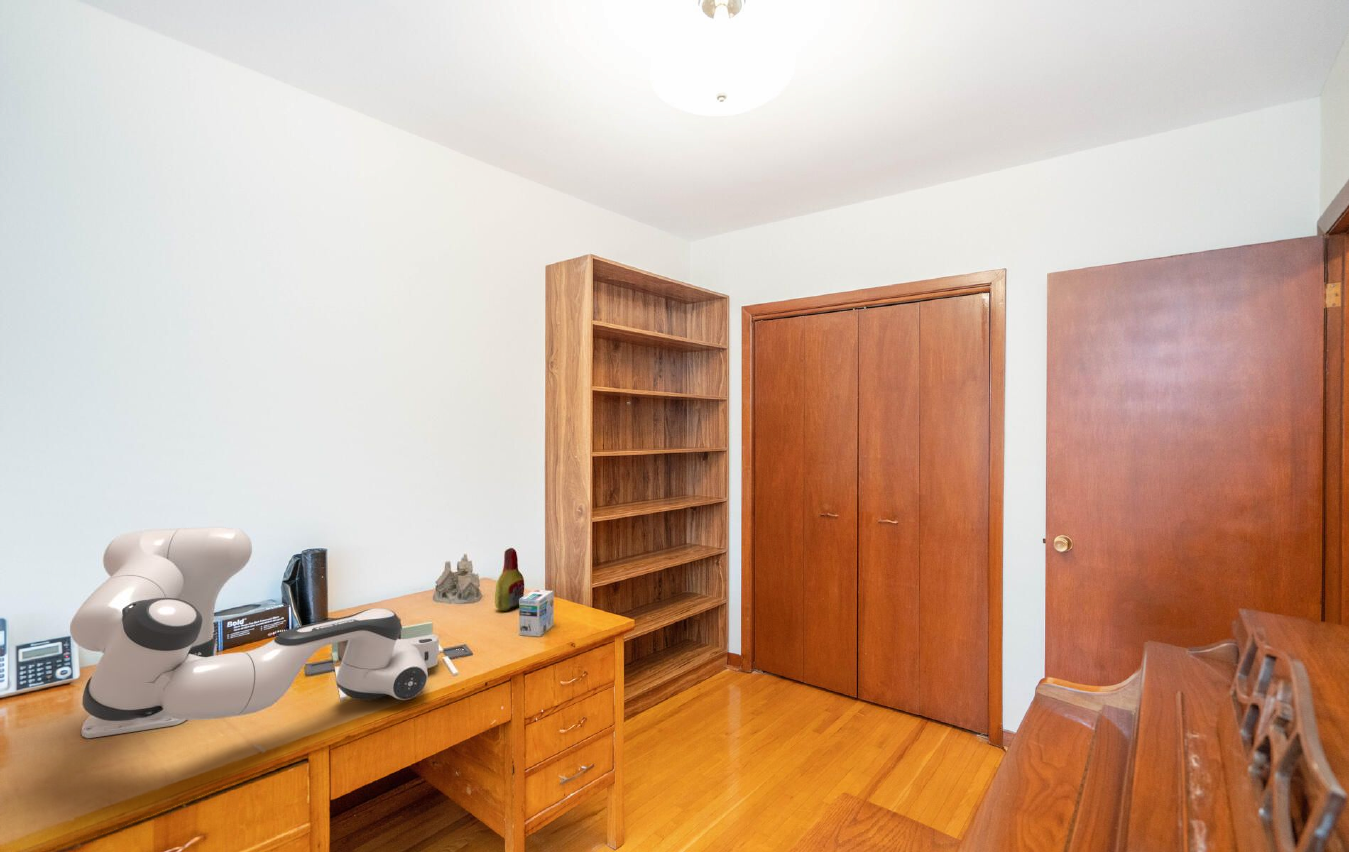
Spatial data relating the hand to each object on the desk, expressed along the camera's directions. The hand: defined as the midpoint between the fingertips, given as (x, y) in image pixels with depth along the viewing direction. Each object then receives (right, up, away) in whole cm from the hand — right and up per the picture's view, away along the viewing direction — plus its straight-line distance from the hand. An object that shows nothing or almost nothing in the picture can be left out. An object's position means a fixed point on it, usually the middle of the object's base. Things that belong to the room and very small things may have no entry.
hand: (392, 641), depth 155 cm
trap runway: (+1, -5, -2) cm, 5 cm away
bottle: (+19, -5, +44) cm, 48 cm away
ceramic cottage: (-3, -5, +56) cm, 56 cm away
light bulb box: (+32, -5, +23) cm, 40 cm away
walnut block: (-7, -5, +2) cm, 9 cm away
